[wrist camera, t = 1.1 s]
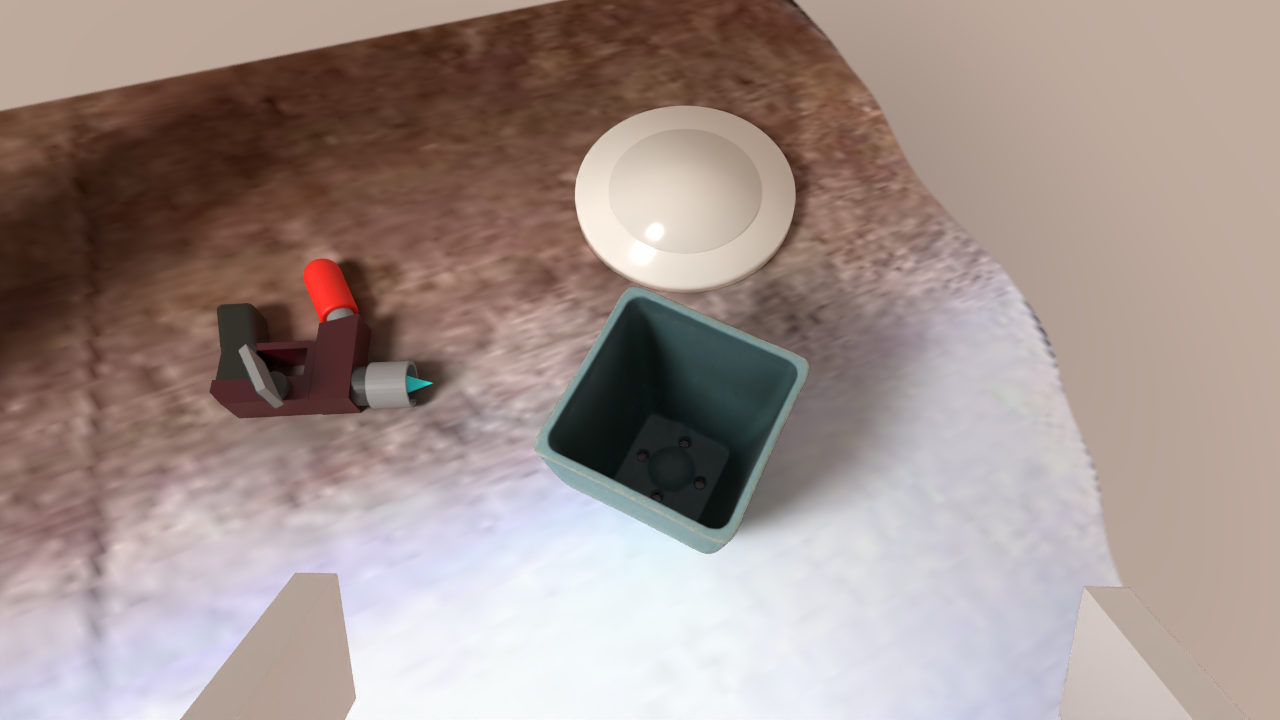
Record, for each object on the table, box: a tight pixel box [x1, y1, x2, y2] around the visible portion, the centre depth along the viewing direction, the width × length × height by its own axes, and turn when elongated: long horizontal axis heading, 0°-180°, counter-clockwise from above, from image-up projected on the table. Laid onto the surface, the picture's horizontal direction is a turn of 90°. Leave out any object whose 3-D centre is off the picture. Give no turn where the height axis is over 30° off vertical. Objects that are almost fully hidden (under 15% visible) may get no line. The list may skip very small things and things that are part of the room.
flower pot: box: [534, 286, 810, 554], centre depth 37 cm, size 9×9×9 cm
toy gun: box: [210, 259, 432, 418], centre depth 43 cm, size 10×12×5 cm
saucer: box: [575, 106, 795, 293], centre depth 48 cm, size 13×13×1 cm
